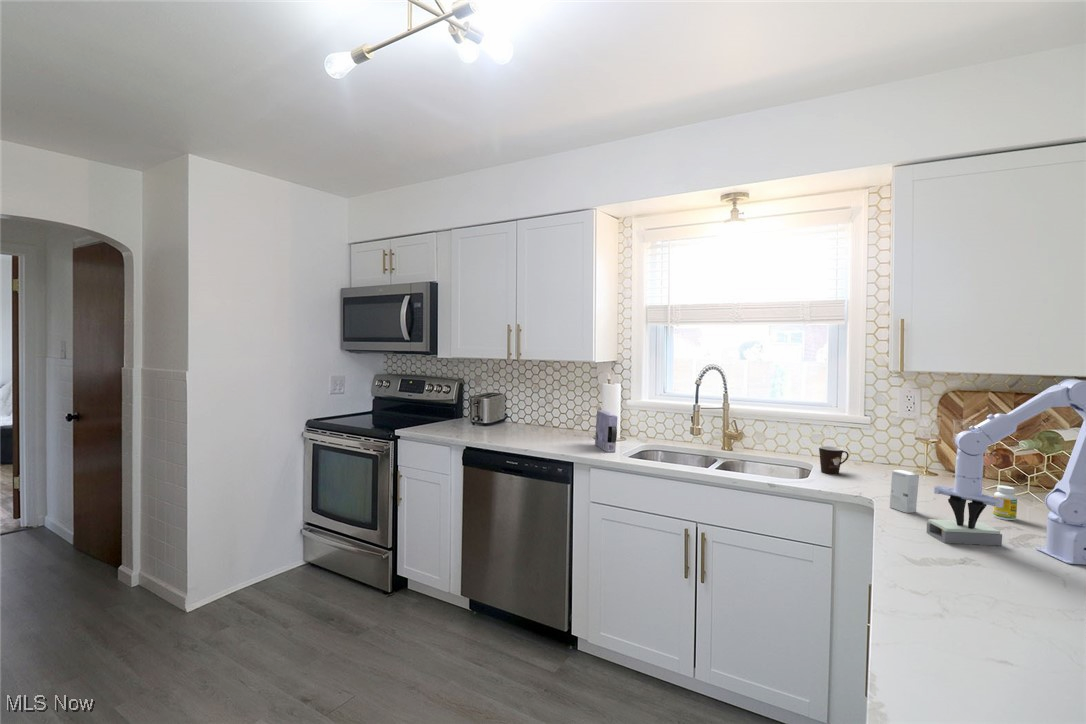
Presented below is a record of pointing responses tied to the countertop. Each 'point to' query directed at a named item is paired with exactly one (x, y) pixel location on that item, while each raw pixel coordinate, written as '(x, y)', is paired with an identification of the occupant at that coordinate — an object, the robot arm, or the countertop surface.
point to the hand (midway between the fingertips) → (965, 526)
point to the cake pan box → (606, 431)
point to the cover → (963, 527)
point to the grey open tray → (964, 536)
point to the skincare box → (904, 491)
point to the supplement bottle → (1006, 503)
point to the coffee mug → (831, 459)
